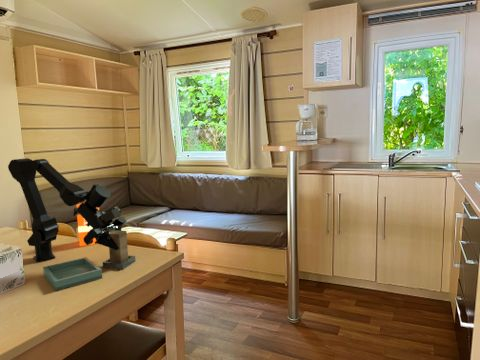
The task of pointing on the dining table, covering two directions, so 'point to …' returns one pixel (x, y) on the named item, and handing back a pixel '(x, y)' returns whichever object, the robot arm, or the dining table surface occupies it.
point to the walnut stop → (121, 242)
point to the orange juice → (83, 229)
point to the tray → (72, 273)
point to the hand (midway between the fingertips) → (121, 247)
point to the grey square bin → (119, 265)
